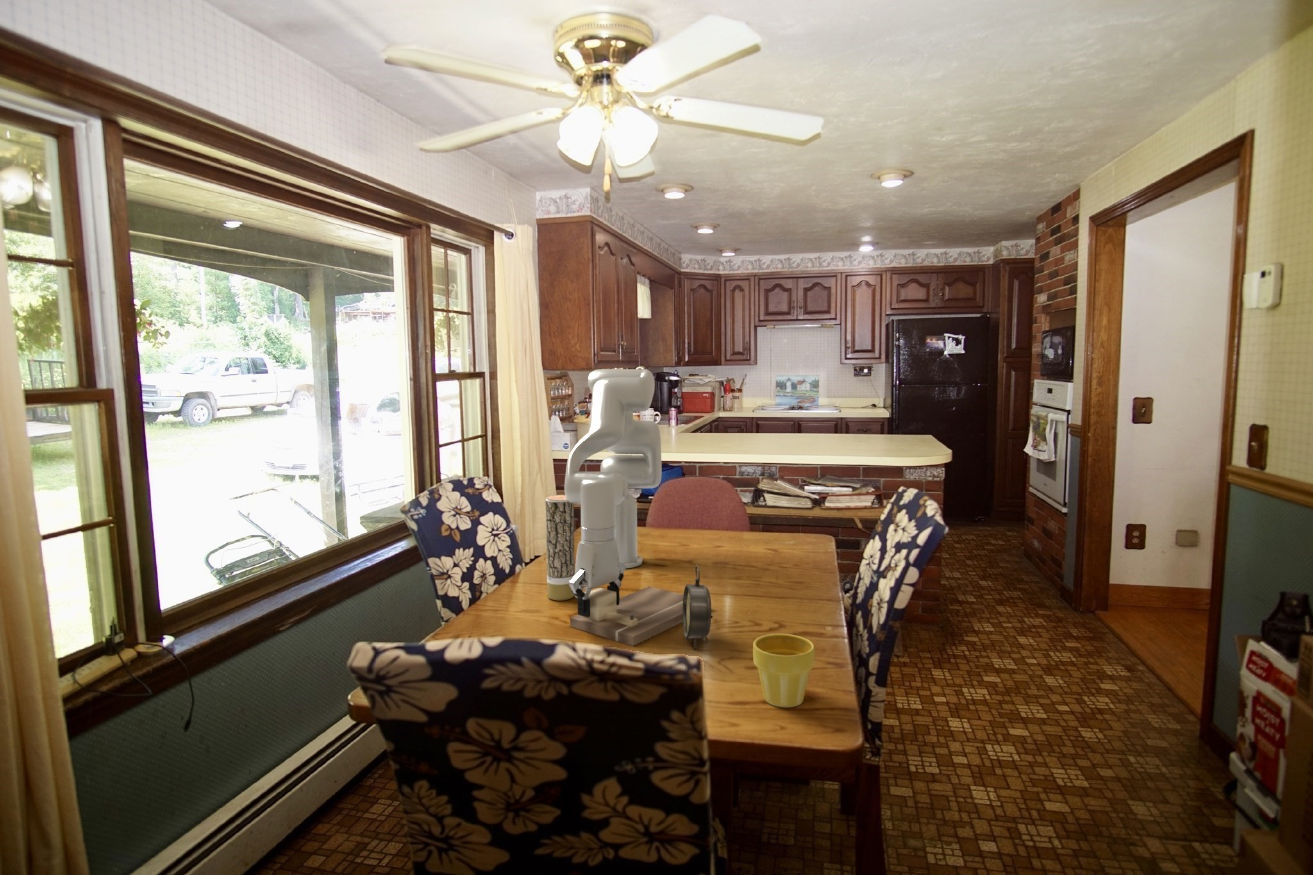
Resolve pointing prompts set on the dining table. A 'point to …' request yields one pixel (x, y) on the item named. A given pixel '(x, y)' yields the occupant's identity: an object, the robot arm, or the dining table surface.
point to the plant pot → (783, 667)
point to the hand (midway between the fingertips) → (598, 609)
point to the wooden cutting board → (638, 616)
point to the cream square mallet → (607, 608)
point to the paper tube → (559, 547)
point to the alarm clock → (696, 611)
